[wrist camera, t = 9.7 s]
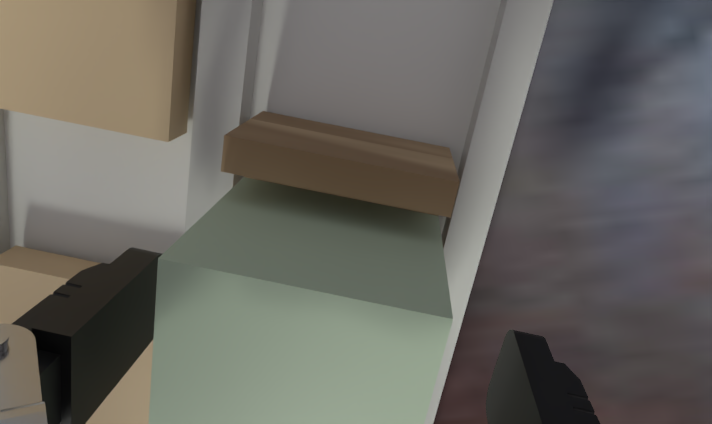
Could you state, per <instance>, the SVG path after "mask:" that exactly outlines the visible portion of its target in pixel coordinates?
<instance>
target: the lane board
mask: <svg viewBox="0 0 712 424" xmlns="http://www.w3.org/2000/svg"><path fill="white" fill-rule="evenodd" d="M553 1H554V0H0V324H12V323H13V322H15V321H16V320H17V319H18V318H20V317H21V316H22V315H24V314H25V313H26V312H28V311H29V310H30V309H32V308H33V307H34V306H35V305H37V304H38V303H39V302H41V301H42V300H43V299H45V298H46V297H47V296H49V295H50V294H52V295H53V292H54V291H55V290H56V289H58V288H59V287H60V286H62V285H65V284H66V282H67V281H68V280H69V279H71V278H72V277H73V276H75V275H76V274H77V273H79V272H80V271H81V270H84V269H87V268H90V267H92V266H95V265H98V264H100V263H107V264H110V263H111V262H113V261H114V260H115V259H116V258H118V257H119V256H120V255H121V254H122V253H124V252H125V251H126V250H127V249H129V248H131V247H134V248H139V249H143V250H148V251H152V252H157V253H162V254H163V253H164V252H165V251H166V250H167V249H168V248H170V247H171V246H172V245H173V244H174V243H175V242H176V241H177V240H178V239H179V238H180V237H181V236H182V235H183V234H184V233H185V232H186V231H187V230H188V229H190V228H191V227H192V226H193V225H194V224H195V223H196V222H197V221H198V220H199V219H200V218H201V217H202V216H203V215H204V214H205V213H206V212H207V211H209V210H210V209H211V208H212V207H213V206H214V205H215V204H216V203H217V202H218V201H219V200H220V199H221V198H222V197H223V196H224V195H225V194H226V193H228V192H229V191H230V190H231V189H232V188H233V187H234V186H235V185H236V184H237V183H238V182H239V181H240V180H241V179H242V178H243V177H244V176H241V175H236V174H231V173H226V172H221V162H222V152H223V141H224V135H225V134H227V133H228V132H230V131H232V130H233V129H235V128H236V127H238V126H240V125H241V124H243V123H244V122H246V121H248V120H249V119H251V118H252V117H254V116H256V115H257V114H259V113H260V112H262V111H266V112H271V113H276V114H281V115H286V116H291V117H296V118H301V119H306V120H311V121H316V122H322V123H327V124H332V125H337V126H342V127H347V128H352V129H357V130H362V131H367V132H372V133H377V134H382V135H387V136H392V137H397V138H403V139H408V140H413V141H418V142H423V143H428V144H433V145H438V146H443V147H448V148H450V151H451V154H452V158H453V161H454V164H455V168H456V171H457V174H458V178H459V181H460V183H459V187H458V191H457V195H456V199H455V203H454V207H453V211H452V214H451V218H450V217H445V216H440V215H439V223H440V230H441V237H442V244H443V251H444V258H445V265H446V272H447V279H448V286H449V294H450V301H451V308H452V315H453V322H452V325H451V329H450V332H449V336H448V340H447V343H446V347H445V350H444V354H443V358H442V361H441V365H440V368H439V372H438V376H437V379H436V383H435V386H434V390H433V394H432V397H431V401H430V404H429V408H428V412H427V415H426V419H425V422H424V424H433V422H434V419H435V415H436V412H437V408H438V405H439V401H440V398H441V394H442V391H443V387H444V384H445V380H446V377H447V373H448V370H449V366H450V363H451V359H452V356H453V352H454V349H455V345H456V342H457V338H458V334H459V331H460V327H461V324H462V320H463V317H464V313H465V310H466V306H467V303H468V299H469V296H470V292H471V289H472V285H473V282H474V278H475V275H476V271H477V268H478V264H479V261H480V257H481V254H482V250H483V247H484V243H485V240H486V236H487V233H488V229H489V226H490V222H491V219H492V215H493V212H494V208H495V205H496V201H497V198H498V194H499V191H500V187H501V184H502V180H503V177H504V173H505V170H506V166H507V163H508V159H509V155H510V152H511V148H512V145H513V141H514V138H515V134H516V131H517V127H518V124H519V120H520V117H521V113H522V110H523V106H524V103H525V99H526V96H527V92H528V89H529V85H530V82H531V78H532V75H533V71H534V68H535V64H536V61H537V57H538V54H539V50H540V47H541V43H542V40H543V36H544V33H545V29H546V26H547V22H548V19H549V15H550V12H551V8H552V5H553ZM152 354H153V340H152V342H151V343H150V344H149V345H148V347H147V348H146V349H145V350H144V352H143V353H142V354H141V355H140V357H139V358H138V359H137V360H136V362H135V363H134V364H133V365H132V366H131V368H130V369H129V370H128V371H127V373H126V374H125V375H124V376H123V378H122V379H121V380H120V381H119V383H118V384H117V385H116V386H115V388H114V389H113V390H112V391H111V392H110V394H109V395H108V396H107V397H106V399H105V400H104V401H103V402H102V404H101V405H100V406H99V407H98V409H97V410H96V411H95V412H94V414H93V415H92V416H91V417H90V418H89V420H88V421H87V422H86V423H85V424H149V406H150V389H151V372H152Z"/></svg>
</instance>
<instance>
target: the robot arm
mask: <svg viewBox="0 0 712 424" xmlns="http://www.w3.org/2000/svg"><path fill="white" fill-rule="evenodd" d="M161 255H162V253H157V252H152V251H148V250H143V249H139V248H134V247H131V248H129V249H127V250H126V251H125V252H124V253H122V254H121V255H120V256H119V257H118V258H116V259H115V260H114V261H113V262H111V263H110V264H107V263H100V264H98V265H95V266H92V267H90V268H87V269H84V270H81V271H80V272H79V273H77V274H76V275H75V276H73V277H72V278H71V279H69V280H68V281H67V282H66V284H65V285H62V286H60V287H59V288H58V289H56V290H55V291H54V292H53V295H52V294H50V295H49V296H47V297H46V298H45V299H43V300H42V301H41V302H39V303H38V304H37V305H35V306H34V307H33V308H32V309H30V310H29V311H28V312H26V313H25V314H24V315H22V316H21V317H20V318H18V319H17V320H16V321H15V322H13V323H12V324H0V424H85V423H86V422H87V421H88V420H89V418H90V417H91V416H92V415H93V414H94V412H95V411H96V410H97V409H98V407H99V406H100V405H101V404H102V402H103V401H104V400H105V399H106V397H107V396H108V395H109V394H110V392H111V391H112V390H113V389H114V388H115V386H116V385H117V384H118V383H119V381H120V380H121V379H122V378H123V376H124V375H125V374H126V373H127V371H128V370H129V369H130V368H131V366H132V365H133V364H134V363H135V362H136V360H137V359H138V358H139V357H140V355H141V354H142V353H143V352H144V350H145V349H146V348H147V347H148V345H149V344H150V343H151V342H152V340H153V337H154V320H155V302H156V285H157V268H158V258H159V257H160V256H161ZM486 414H487V420H488V424H600V423H599V420H598V418H597V416H596V415H594V409H593V407H592V405H591V403H590V401H588V396H587V394H586V392H585V389H584V387H583V385H582V383H581V381H580V379H579V378H578V377H577V376H576V375H575V374H574V373H573V372H572V371H571V370H570V369H569V368H568V367H567V366H566V365H565V364H564V363H559V362H555V361H554V359H553V357H552V354H551V352H550V349H549V347H548V344H547V342H546V340H545V338H544V337H543V336H538V335H534V334H529V333H524V332H520V331H515V330H509V331H508V332H507V334H506V336H505V339H504V342H503V345H502V348H501V351H500V354H499V357H498V360H497V363H496V366H495V369H494V372H493V375H492V378H491V381H490V384H489V388H488V392H487V399H486Z"/></svg>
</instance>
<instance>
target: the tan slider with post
mask: <svg viewBox="0 0 712 424" xmlns="http://www.w3.org/2000/svg"><path fill="white" fill-rule="evenodd" d="M221 172H226V173H231V174H236V175H241V176H244V177H247V178H252V179H257V180H262V181H267V182H272V183H276V184H281V185H286V186H291V187H296V188H301V189H306V190H311V191H316V192H321V193H326V194H331V195H336V196H341V197H346V198H351V199H356V200H361V201H366V202H371V203H376V204H381V205H386V206H391V207H396V208H401V209H406V210H411V211H416V212H421V213H426V214H431V215H436V216H439V215H440V216H445V217H450V218H451V214H452V211H453V207H454V203H455V199H456V195H457V191H458V187H459V183H460V181H459V178H458V174H457V171H456V168H455V164H454V161H453V158H452V154H451V151H450V148H448V147H443V146H438V145H433V144H428V143H423V142H418V141H413V140H408V139H403V138H397V137H392V136H387V135H382V134H377V133H372V132H367V131H362V130H357V129H352V128H347V127H342V126H337V125H332V124H327V123H322V122H316V121H311V120H306V119H301V118H296V117H291V116H286V115H281V114H276V113H271V112H266V111H262V112H260V113H259V114H257V115H256V116H254V117H252V118H251V119H249V120H248V121H246V122H244V123H243V124H241V125H240V126H238V127H236V128H235V129H233V130H232V131H230V132H228V133H227V134H225V135H224V141H223V152H222V162H221Z"/></svg>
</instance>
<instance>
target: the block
mask: <svg viewBox="0 0 712 424" xmlns="http://www.w3.org/2000/svg"><path fill="white" fill-rule="evenodd" d="M452 322H453V315H452V308H451V301H450V294H449V286H448V279H447V272H446V265H445V258H444V251H443V244H442V237H441V230H440V223H439V216H436V215H431V214H426V213H421V212H416V211H411V210H406V209H401V208H396V207H391V206H386V205H381V204H376V203H371V202H366V201H361V200H356V199H351V198H346V197H341V196H336V195H331V194H326V193H321V192H316V191H311V190H306V189H301V188H296V187H291V186H286V185H281V184H276V183H272V182H267V181H262V180H257V179H252V178H247V177H243V178H242V179H241V180H240V181H239V182H238V183H237V184H236V185H235V186H234V187H233V188H232V189H231V190H230V191H229V192H228V193H226V194H225V195H224V196H223V197H222V198H221V199H220V200H219V201H218V202H217V203H216V204H215V205H214V206H213V207H212V208H211V209H210V210H209V211H207V212H206V213H205V214H204V215H203V216H202V217H201V218H200V219H199V220H198V221H197V222H196V223H195V224H194V225H193V226H192V227H191V228H190V229H188V230H187V231H186V232H185V233H184V234H183V235H182V236H181V237H180V238H179V239H178V240H177V241H176V242H175V243H174V244H173V245H172V246H171V247H170V248H168V249H167V250H166V251H165V252H164V253H163V254H162V255H161V256H160V257H159V258H158V268H157V285H156V302H155V320H154V337H153V354H152V372H151V389H150V406H149V424H424V422H425V419H426V415H427V412H428V408H429V404H430V401H431V397H432V394H433V390H434V386H435V383H436V379H437V376H438V372H439V368H440V365H441V361H442V358H443V354H444V350H445V347H446V343H447V340H448V336H449V332H450V329H451V325H452Z"/></svg>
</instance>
